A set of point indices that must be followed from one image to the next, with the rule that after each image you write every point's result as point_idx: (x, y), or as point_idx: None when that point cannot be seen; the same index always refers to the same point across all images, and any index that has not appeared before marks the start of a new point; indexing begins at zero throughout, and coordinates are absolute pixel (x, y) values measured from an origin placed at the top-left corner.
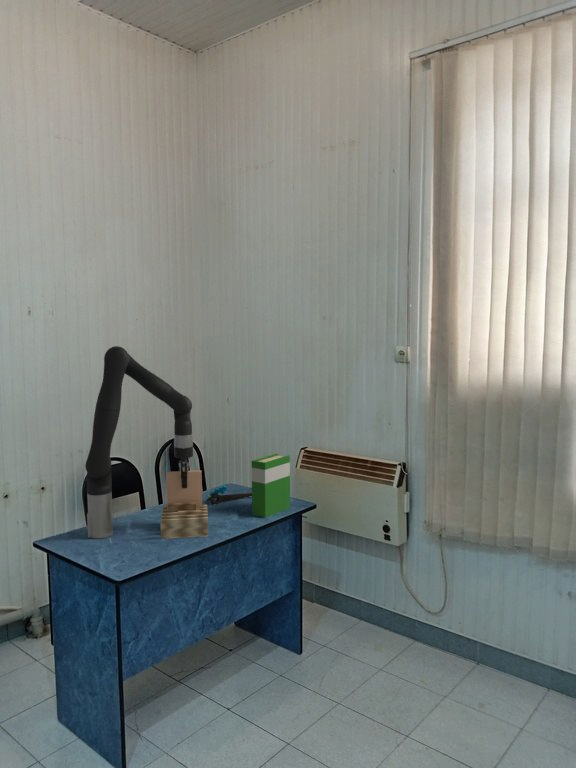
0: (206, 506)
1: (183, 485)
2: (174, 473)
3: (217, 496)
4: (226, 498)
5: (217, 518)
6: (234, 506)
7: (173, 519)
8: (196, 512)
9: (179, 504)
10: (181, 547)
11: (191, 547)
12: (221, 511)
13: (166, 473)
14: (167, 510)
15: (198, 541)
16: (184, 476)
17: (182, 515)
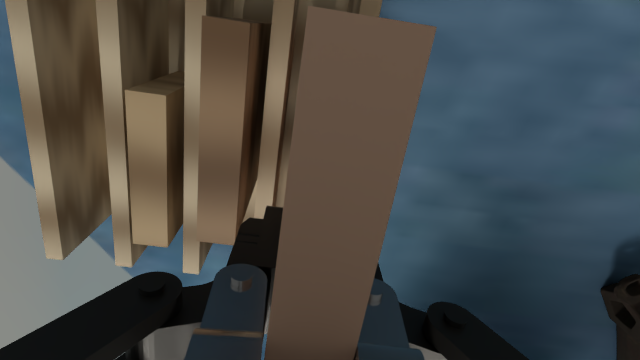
0: None
1: (240, 237)
2: (284, 218)
3: (634, 329)
4: (622, 349)
5: (397, 273)
6: (528, 353)
7: (18, 37)
8: (133, 212)
9: (200, 120)
10: (2, 61)
11: (3, 111)
12: (488, 301)
13: (308, 7)
14: (273, 16)
15: None
16: (128, 350)
17: (117, 116)
